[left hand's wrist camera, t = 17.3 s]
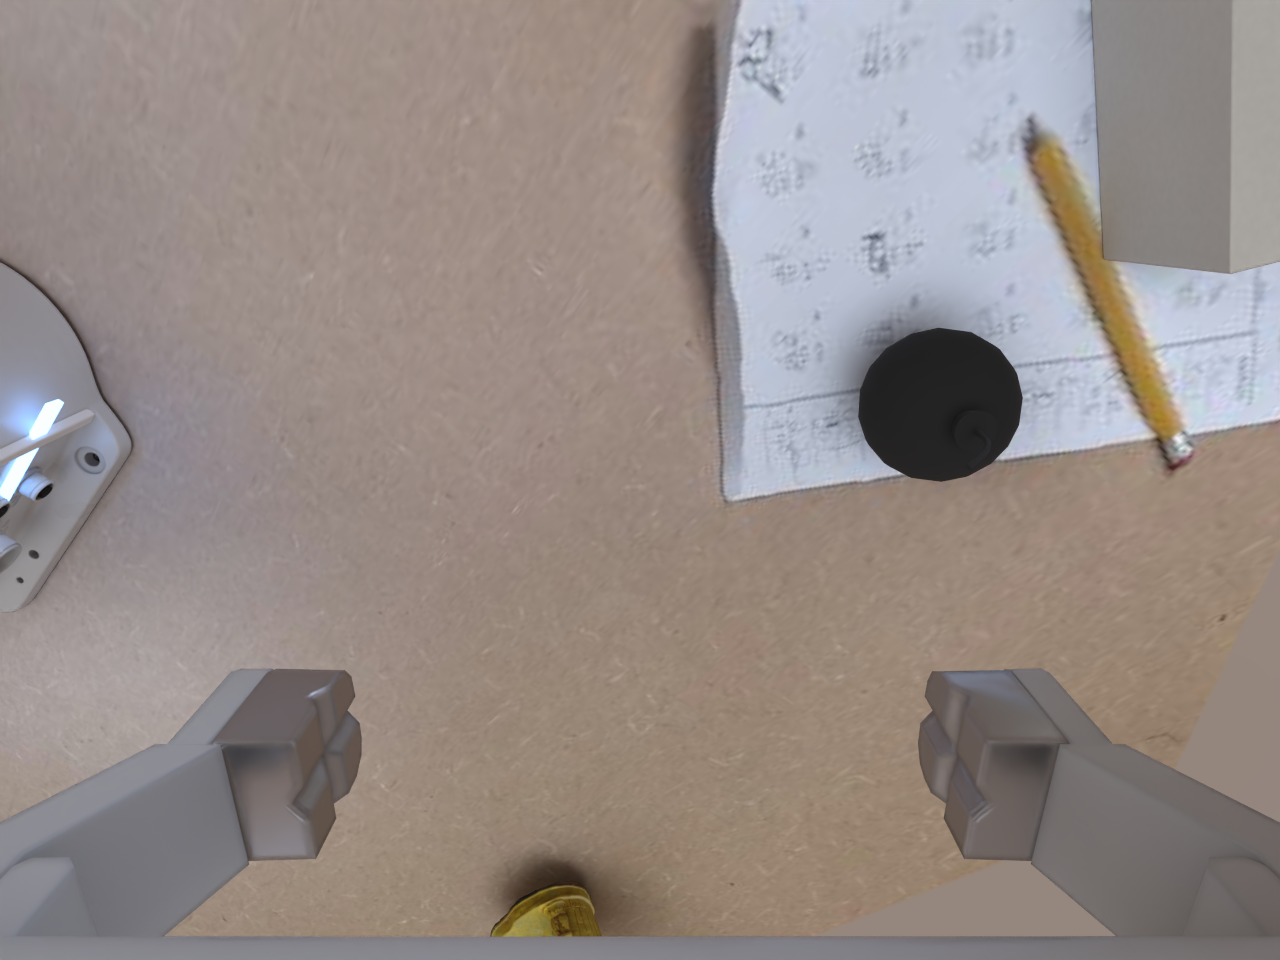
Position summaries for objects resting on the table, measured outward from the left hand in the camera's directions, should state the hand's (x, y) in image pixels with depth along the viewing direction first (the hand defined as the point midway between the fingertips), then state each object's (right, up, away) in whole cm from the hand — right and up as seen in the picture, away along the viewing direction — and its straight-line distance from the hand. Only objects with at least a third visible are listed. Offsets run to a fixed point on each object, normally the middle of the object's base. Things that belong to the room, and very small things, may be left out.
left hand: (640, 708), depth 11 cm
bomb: (+16, +9, +32) cm, 37 cm away
